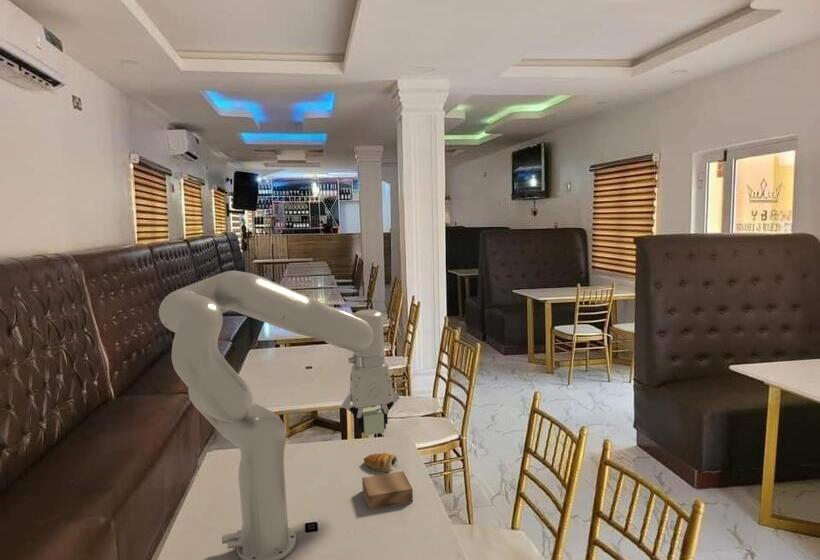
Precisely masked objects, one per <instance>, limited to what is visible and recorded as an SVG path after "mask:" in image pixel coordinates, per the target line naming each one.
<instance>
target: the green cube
mask: <svg viewBox="0 0 820 560" xmlns="http://www.w3.org/2000/svg"><path fill="white" fill-rule="evenodd" d="M379 406H380V405H378V406H372V407H365V408H363V412H362V417H363V420H364V433H363V435H364V436H372V435H375V434H376V435H377V434H381V433H385V429H384V413H383V412H382V410H381V407H379Z"/></svg>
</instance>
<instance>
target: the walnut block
mask: <svg viewBox="0 0 820 560" xmlns="http://www.w3.org/2000/svg"><path fill="white" fill-rule="evenodd" d="M361 481H362V492H363V495H364V498H365V501H366V504H367V506H368V510H369V511H371V510H375V509H376V510H377V509H381V508H388V507H393V506H394V507H395V506H399V505H405V504H409V502H411V503H414V500H413V499H414V498H413V487H412V485H411V483H410V481H409V480H408V477H407V476H406V473H405V472H404V471H403V470H402V471H397V472H395V471H394V472H388V473H384V474H383V473H382V474H378V475H371V476H370V475H369V476H364V477H361Z"/></svg>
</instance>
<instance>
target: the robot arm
mask: <svg viewBox="0 0 820 560" xmlns="http://www.w3.org/2000/svg"><path fill="white" fill-rule="evenodd" d="M229 311H232V312H234V313H239V314H240V315H244V316H247V317H250V318H252V319H255V320H258V321H260V322H263V323H266V324H269V325H270V326H274V327H277V328H280V329H283V330H285V331H287V332H290V333H291V332H292V333H293V334H297V335H300V336H305V337H308V338H314V339H317V340H321V341H324V342H325V343H327V344H328V345H332V346H334V347H338V348H339V349H344V350H347V351H350V352H353V353H352V354H353V355H352V356H351V357H348V358H347V361H348V363H349V364H352V366H351V371H350V379H349V382H350V383H349V393H348V394H347V396H346V397H345V399H344V401H343V402H342V403H341V405H342V406H341V407H343V409H345V410H347V411H349V412H350V413H351V414H353V416H355V417H356V428H357V430H358V429H359V430H360V432H361V434H364V420H363V417H362V412H363V409H364V408H370V407H377V406H380V409H381V410H382V412H383V413H384V430H386V429H387V425H388V414H389V413H390V410H391V409H392V408H393V406H394V405H395V404H396V403H397V402H398V401H399V399H400V396H399V394H397V392H395V390H394V389H393V385H392V379H391V372H390V366H389V364H388V363H387V362H386V361H385V342H384V339H385V338H384V319H383V314H382V313H381V311H379V310H376V309H361V310H357V311H356V312H352V313H351V312H350V313H349V312H345V311H343V310H341V309H339V308H335V307H333V306H330V305H328V304H326V303H324V302H321V301H320V300H317V299H314V298H312V297H310V296H307V295H305V294H302V293H300V292H298V291H295V290H292V289H290V288H289V287H286V286H284V285H282V284H279V283H276V282H274V281H272V280H270V279H268V278H265V277H262V276H260V275H257V274H255V273H251V272H246V271H239V270H227V271H224V272H221V273H219V274H215V275H213V276H210V277H208V278H205V279H203V280H200V281H197V282H195V283H194V282H193V283H192V284H189V285H187V286H186V285H185V286H184V287H181V288H179V289H176V290H174V291H172V292H170V293H169V294H167V296H166V297H164V298H163V300H162V301H161V303H160V306H159V309H158V316H159V320H160V321H161V323H162V325H163V326H164V327H165V328H166V329H167V330H169V331H171V332H173V333H174V337H173V339H172V345H171V346H172V347H171V362H172V366H173V369H174V371H175V373H176V374H177V375H178V377H179V378H180V379H181V380H182V382H183V383H184V384H185V386H186V387H187V389H188V391H187V393H188V397H189V400H190V402H191V403H192V405H193V406H194V408H196V409H197V410H198V412H199V413H200V414H201V415H202V416H203V417H204V418H205V419H206V420H207V421H208V422H209V423H210V425H212V426H213V427H214V428H215V430H216V431H217V432H218V433H220V434H221V435H222V436H223V437H224V438H225V439H227V440H228V441H229V442H231V443H232V444H233V445H235V446H236V447H237V448H238V449H239V450H240V461H239V465H238V485H239V486H238V487H239V497H240V499H239V500H240V510H241V522H242V524H241V529H238V530H237V531H236V532H232V533H224V534H222V535H221V545H225V544H226V545H227V547H226V549H227V550H228V549H229V550H230V549H233V548H236V552H237V553H236V554H237V556H238V558H239V559H240V560H282V559H284V558H285V557H287V556H288V555H289V554H291V552H292V551H293V550H294V549H295V547H296V544H297V536H296V533H295V531H294V530H293V529H292V528H290V527H289V520H288V506H287V493H286V492H287V489H286V488H287V487H286V477H285V447H286V441H287V440H286V439H287V432H286V426H285V424H284V422H283V420H282V419H281V418H280V417H279V416H278V415H277V414H276V413H275V412H273V411H271V410H270V409H268V408H267V407H265V406H263V405H260V404H259V403H257V402H255V401H254V397H253V392H252V390H251V388H250V386H249V385H248V383H247V382H246V381H245V380H244V379H243V378H242V377H241V376H240V375H239V374H238V373H237V372H236V370H235V369H234V367H232V365H230V363H229V362H228V361H227V360H226V358H225V357H224V355H223V354H222V353H221V352H220V350H219V337H220V334H221V330H222V327H223V323H224V322H223V320H224V318H223V314H225V313H227V312H229ZM351 403H352V405H351Z"/></svg>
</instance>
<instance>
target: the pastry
mask: <svg viewBox="0 0 820 560" xmlns="http://www.w3.org/2000/svg"><path fill="white" fill-rule="evenodd" d="M398 461H399V460H398V457H397V455H396V454H390V453H387V452H382V453H379V452H378V453H372V454H369V455H367V456H366V457H363V462H364V465H365V466H366V467H369V468H370V469H372V470H373V471H378V472H383V473H391V472H392V471H393V470H394V468H395V467H396V466H397V465H398Z"/></svg>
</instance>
